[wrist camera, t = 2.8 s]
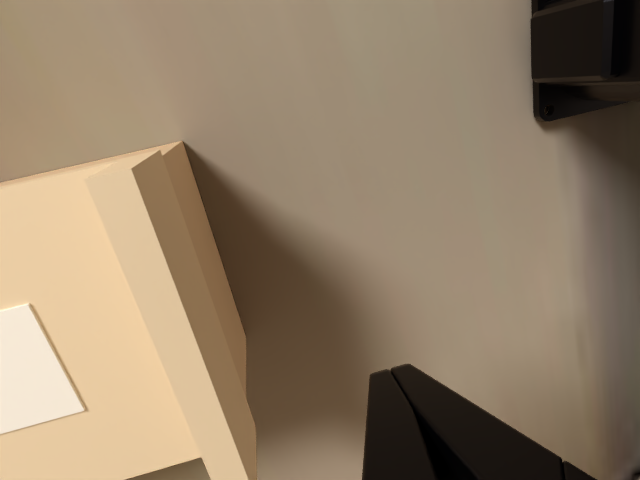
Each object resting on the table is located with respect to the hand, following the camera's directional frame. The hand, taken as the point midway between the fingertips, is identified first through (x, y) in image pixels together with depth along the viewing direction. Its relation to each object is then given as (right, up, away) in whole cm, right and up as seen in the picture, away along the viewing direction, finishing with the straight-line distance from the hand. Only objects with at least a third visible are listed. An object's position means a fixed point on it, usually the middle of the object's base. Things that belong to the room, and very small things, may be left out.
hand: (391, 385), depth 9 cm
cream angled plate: (-12, -1, +5) cm, 13 cm away
